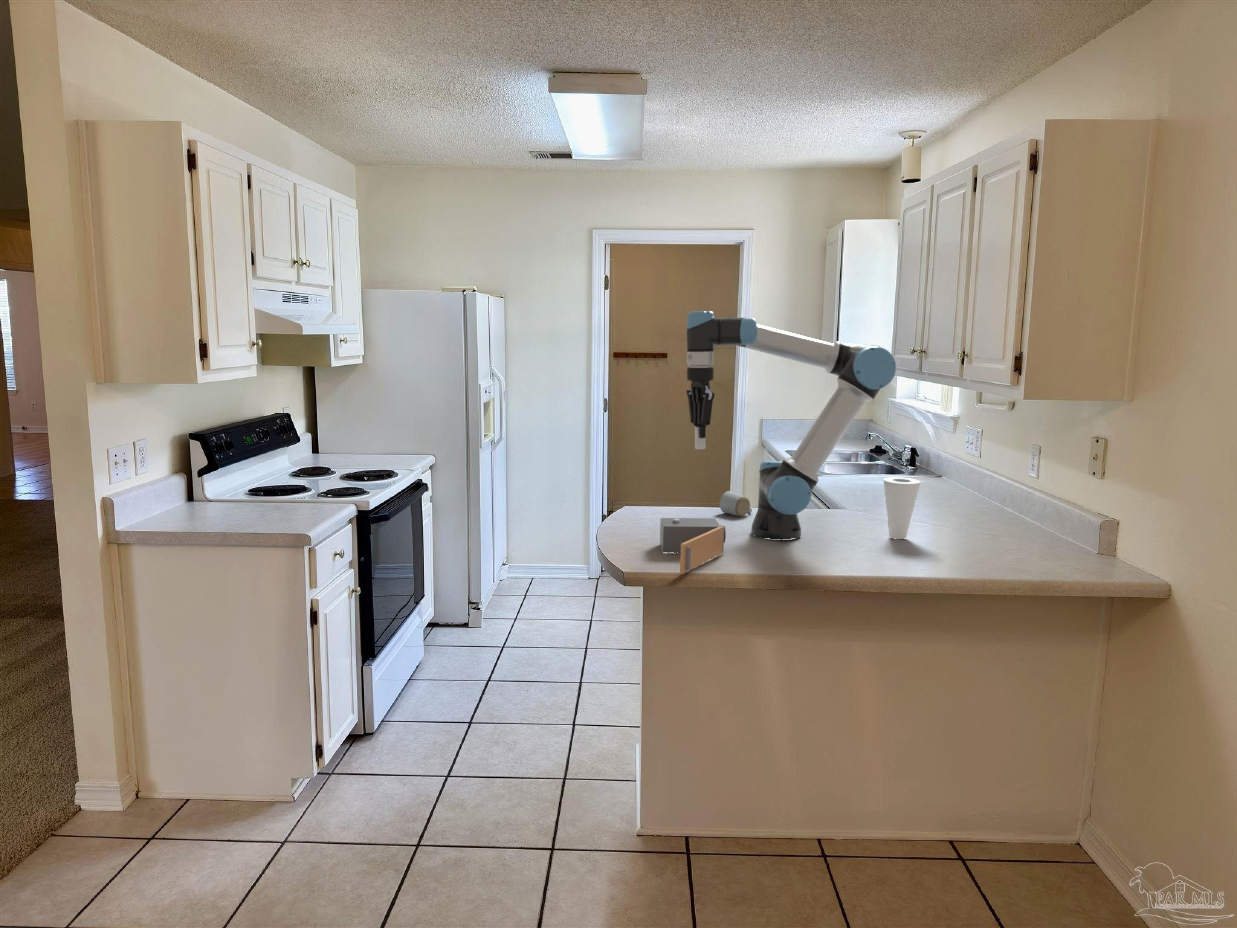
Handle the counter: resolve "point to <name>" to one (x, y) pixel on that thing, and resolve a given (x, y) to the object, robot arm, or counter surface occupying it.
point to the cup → (900, 504)
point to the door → (701, 549)
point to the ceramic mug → (734, 504)
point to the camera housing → (683, 531)
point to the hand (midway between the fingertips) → (700, 448)
